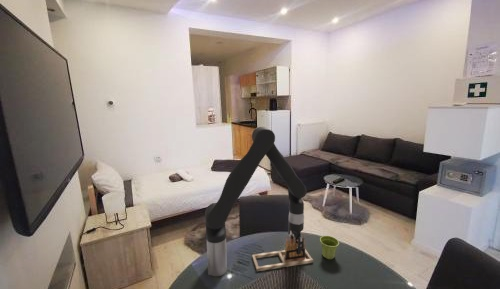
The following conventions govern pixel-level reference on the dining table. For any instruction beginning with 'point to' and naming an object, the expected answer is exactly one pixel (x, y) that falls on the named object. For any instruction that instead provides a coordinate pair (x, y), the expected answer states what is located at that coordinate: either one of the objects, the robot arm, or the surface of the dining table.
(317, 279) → the dining table surface
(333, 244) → the plant pot
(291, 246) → the ammunition clip
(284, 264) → the wooden double frame
